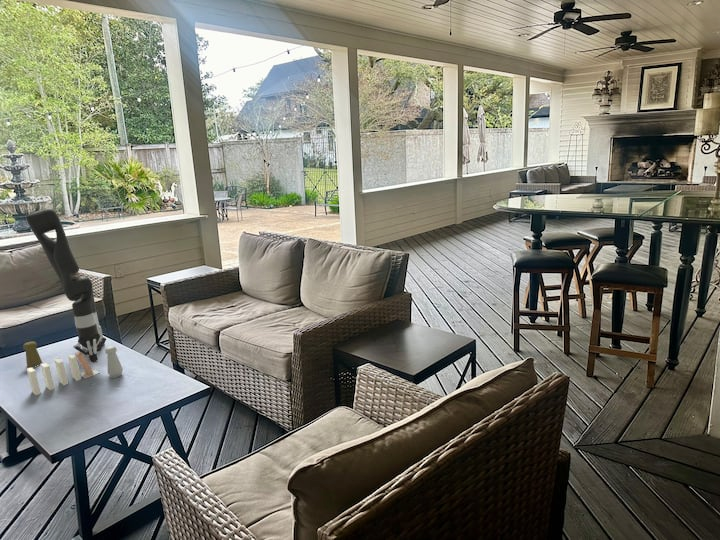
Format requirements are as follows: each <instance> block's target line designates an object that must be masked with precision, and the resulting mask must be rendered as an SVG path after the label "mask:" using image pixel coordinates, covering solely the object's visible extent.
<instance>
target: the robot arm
mask: <svg viewBox="0 0 720 540" xmlns="http://www.w3.org/2000/svg"><path fill="white" fill-rule="evenodd" d="M26 222H27V224H28V226H29V228H30V230H31V231H32V232H33V234H34V237H36V239H37V240H38V242H39V243H40V246H41V247H42V249H43V251H44V253H45V255H46V257H47V259H48V261H49V263H50V266H51V267H52V268H53V270H54V272H55V274H56V275H57V277H58V280H59V283H60V284H61V287H62V291H63V293H64V294H65V296H66V298H67V300H69V301H70V302H72V304H71V307H72V312H73V316H74V325H75V327H76V333H77V337H78V339H77V343H76V345H75V344H74V345H73V349H75V350H77V352H81V353H82V354H84V356H88V358H89V359H88V360H89V362H91V363H92V364H95V363H97V361H98V353H99V352H101V351H102V348H103V347H104V345H105V344H106V341H107V338H106V337H105V336H104V335H103V330H102V326H101V325H100V322H99V318H98V314H97V309H96V302H95V295H94V290H93V282H92V280H91V279H90V278H89V277H88V276H80V277H77V278H71V277H72V276H75V275H76V274H77V273H79V272H80V267H79V265H78V263H77V261H76V258H75V255H73V252H72V250H71V248H70V244H69V241H68V237H67V235H66V233H65V230H64V227H63V224H62V222H61V220H60V217H59V215H58V213H57V212H56V210H55V208H52V207H46V208H42V209H41V210H37V211H33V212H31V213H28V214H27V215H26ZM52 231H55V234H56V239H52V238H51V237H49V236H48V234H46V233H49V232H52ZM83 349H85V350H83Z"/></svg>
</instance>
